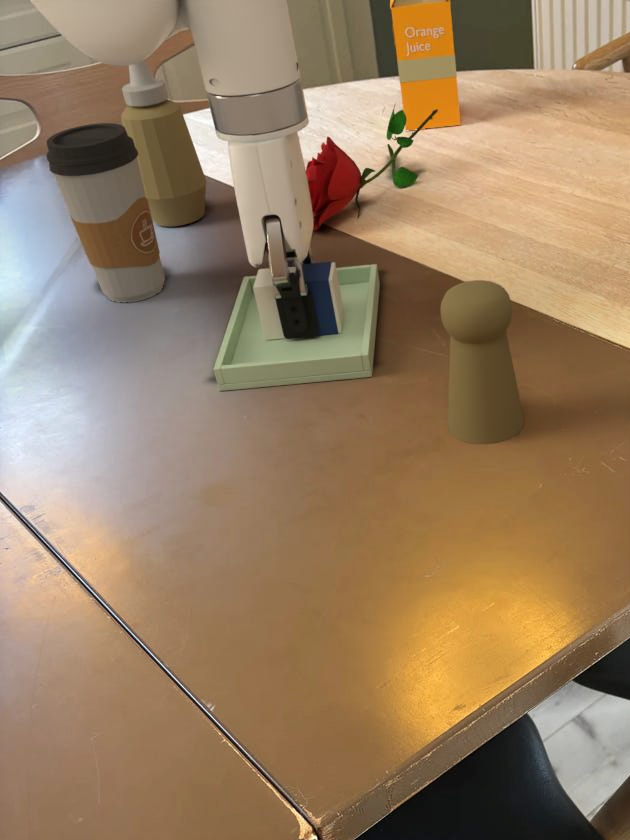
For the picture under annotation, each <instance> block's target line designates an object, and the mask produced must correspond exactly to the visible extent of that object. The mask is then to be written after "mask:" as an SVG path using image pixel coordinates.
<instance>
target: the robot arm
mask: <svg viewBox="0 0 630 840" xmlns="http://www.w3.org/2000/svg"><path fill="white" fill-rule="evenodd" d="M29 1H30V3H32V5H33V6H34V7H35V8H36V9H37V10H38V11H39V13H40V14H41V15H42V16H43V17H44V18H45V19H46V21H47V22H48V23H49V24H50V25H51V27H53V28H54V29H55V31H57V33H59V34H60V35H61V36H62V37H63V38H64V39H65V40H66V41H68V42H69V44H71V45H72V46H73V47H75V48H76V49H77V50H79V51H80V52H81V53H83V54H84V55H85V56H86V57H89V58H91V59H92V60H94V61H96V62H98V63H101V64H104V65H108V66H110V67H111V66H112V67H127V66H128V67H129V65H134V64H137V63H139V62H141V61H143V60H145V61H146V59H147V58H149V57H150V56H151V55H153V54H154V52H156V51H157V50H158V48H160V46H161V45H162V44H163V43H164V42H165V41H166V40H168V39H170V38H172V37H173V36H174V35H176V34H179V32H182V31H183V32H184V31H187V30H189V31H190V32H191V36H192V40H193V44H194V49H195V52H196V56H197V61H198V64H199V69H200V73H201V77H202V81H203V86H204V89H205V94H206V97H207V101H208V105H209V106H208V107H209V109H210V114H211V118H212V122H213V126H214V130H215V135H216V137H217V138H218V139H219V140H221V141H224V142H227V147H228V156H229V164H230V171H231V176H232V178H231V179H232V183H233V189H234V194H235V198H236V205H237V209H238V210H237V211H238V214H239V219H240V225H241V230H242V235H243V241H244V245H245V250H246V255H247V260H248V263H249V264H250V265H251V266H252V267H253V268H259V267H260V265H263V263H264V259H265V257H266V256H267V261H268V262H267V263H268V266H269V267H268V268H270V272H271V278H272V283H273V288H274V293H275V300H276V305H277V309H278V313H279V318H280V322H281V326H282V331H283V335H284V337H285V338H286V339H295V338H306V337H315V336H318V334H319V326H318V321H317V316H316V311H315V306H314V301H313V296H312V291H308V289H307V283H306V277H305V272H304V266H303V264H311V263H314V257H313V252H312V248H311V241H312V237H313V236H312V235H313V232H314V230H313V222H314V220H313V212H312V204H311V198H310V192H309V186H308V181H307V176H306V165H305V160H304V157H303V153H302V147H301V142H300V136H299V132H300V131H302V130H303V129H304V128H306V127H307V126H308V125H309V122H310V120H309V119H310V118H309V115H308V109H307V106H306V104H307V103H306V98H305V93H304V88H303V82H302V77H301V71H300V67H299V60H298V55H297V50H296V44H295V39H294V34H293V29H292V23H291V18H290V13H289V6H288V2H287V0H29ZM288 267H296V273H297V276H296V275H295V273H294V272H291V273H290V270H289V269H288ZM297 278H298V279H297Z"/></svg>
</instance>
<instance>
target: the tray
mask: <svg viewBox="0 0 630 840" xmlns="http://www.w3.org/2000/svg"><path fill="white" fill-rule="evenodd" d="M336 270H337V276H338V281H339V287H340V293H341V298H342V304H343V309H344V320H343V327H342V333H339V334H335V335H324V336H315V337H306V338H295V339H286V338H283V339H273V340H265V336H264V331H263V327H262V323H261V319H260V315H259V310H258V306H257V302H256V298H255V293H254V289H253V286H254V283H255V280H256V276H257V275H247V276H243V279H242V281H241V284H240V287H239V291H238V294H237V297H236V299H235V302H234V306H233V309H232V312H231V315H230V318H229V321H228V324H227V327H226V330H225V332H224V336H223V338H222V343H221V345H220V348H219V351H218V354H217V356H216V357H217V358H216V360H215V363H214V367H213V373H214V376H215V380H216V384H217V387H218V390H219V392H224V391H225V392H226V391H236V390H246V389H257V388H269V387H280V386H288V385H300V384H310V383H311V384H312V383H320V382H321V383H322V382H332V381H341V380H342V381H343V380H353V379H364V378H373V370H374V358H375V346H376V334H377V323H378V312H379V311H378V310H379V301H380V300H379V299H380V298H379V297H380V287H381V283H380V276H379V269H378V264H377V263H373V264H363V265H352V266H342V267H336Z"/></svg>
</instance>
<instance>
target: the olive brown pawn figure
mask: <svg viewBox="0 0 630 840" xmlns="http://www.w3.org/2000/svg"><path fill="white" fill-rule="evenodd" d="M439 311H440V312H439V313H440V319H441V322H442V325H443V328H444V330H445V332H447V334H448V335H449V336H450V341H449V374H448V375H449V376H448V377H449V378H448V411H447V427H448V428H447V429H448V433H450V434H451V435H452V437H453V438H454V439H456V440H458V441H461V442H463V443H467V444H473V445H489V444H497V443H500V442H504V441H507V440H509V439H511V438H513V437H515V436H516V435H518V433H520V431H522V430H523V428H524V425H525V416H524V411H523V407H522V401H521V396H520V392H519V386H518V382H517V378H516V377H517V376H516V373H515V368H514V363H513V358H512V353H511V348H510V343H509V339H508V334H507V330H508V329H509V327H510V325H511V323H512V317H513V303H512V301H511V298H510V295H509V292H508V291H507V290H506V289H505V287H503V286H502V285H501V284H499V283H496V282H493V281H491V280H483V279H481V280H479V279H478V280H475V279H473V280H469V281H468V280H467V281H464V282H460V283H458V284H456V285H454V286H452V287H451V288H449V289H448V290H447V291H446V292H445V294H444V296H443V298H442V301H441V302H440V310H439Z"/></svg>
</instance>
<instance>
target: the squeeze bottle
mask: <svg viewBox="0 0 630 840" xmlns="http://www.w3.org/2000/svg"><path fill="white" fill-rule="evenodd" d="M128 72H129V73H128V75H129V83H127V84H124V85H123V86H122V87H121V91H122V94H123V99H124V102H125V104H126V105H127V107H125V108H124V110H123V111H122V113H121V115H120V119H121V125H122V126H124V127H125V129H126V132H127V134H128V136H129V137H131V138H132V139H133V141H134V146H135V147H136V149H137V151H138V156H137V160H138V164H139V168H140V173H141V177H142V181H143V186H144V190H145V194H146V198H147V199H148V203H149V208H150V212H151V217H152V221H153V223H155V224H156V225H158V226H161V227H178V226H179V227H180V226H184V225H188V224H193V223H194V222H196V221H197V222H198V221H199V220H200V219H202V218H203V217H204V215H205V213H206V211H205V209H206V194H207V179H206V176H205V173H204V171H203V168H202V165H201V161H200V160H199V159H200V158H199V156H198V153H197V150H196V147H195V145H194V142H193V139H192V136H191V133H190V131H189V128H188V125H187V122H186V120H185V116H184V113H183V110H182V108H181V105H179V104H178V103H176V101H174V100H171V99H169V92H168V89H167V88H168V87H167V84H166V82H165V80H163V79H159V78H154V75H153V73H152V72H151V70H150V67H149V65H148V63H147V61H146V59H145V60H143V61H141V62H139V63H137V64H134V65H128Z"/></svg>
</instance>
